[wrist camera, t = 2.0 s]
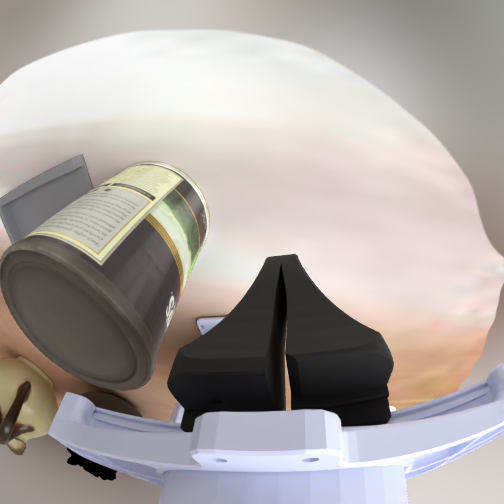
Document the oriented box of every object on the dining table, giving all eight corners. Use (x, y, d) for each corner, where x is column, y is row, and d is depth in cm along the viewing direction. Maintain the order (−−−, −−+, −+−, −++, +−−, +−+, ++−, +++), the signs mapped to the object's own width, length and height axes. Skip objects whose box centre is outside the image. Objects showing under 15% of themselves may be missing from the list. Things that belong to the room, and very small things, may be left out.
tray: (134, 287, 27) (127, 298, 26) (49, 292, 30) (42, 300, 28) (82, 154, 20) (71, 159, 18) (4, 195, 22) (-5, 201, 21)
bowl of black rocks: (161, 394, 40) (134, 490, 24) (166, 429, 50) (149, 498, 34) (65, 358, 39) (26, 436, 23) (89, 402, 49) (65, 463, 33)
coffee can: (235, 214, 22) (193, 357, 10) (168, 282, 27) (113, 404, 15) (142, 134, 19) (4, 199, 7) (91, 219, 23) (-3, 312, 11)
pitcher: (26, 379, 53) (-3, 439, 32) (-9, 326, 41) (-53, 395, 19) (81, 406, 53) (54, 478, 32) (46, 356, 41) (0, 448, 20)
